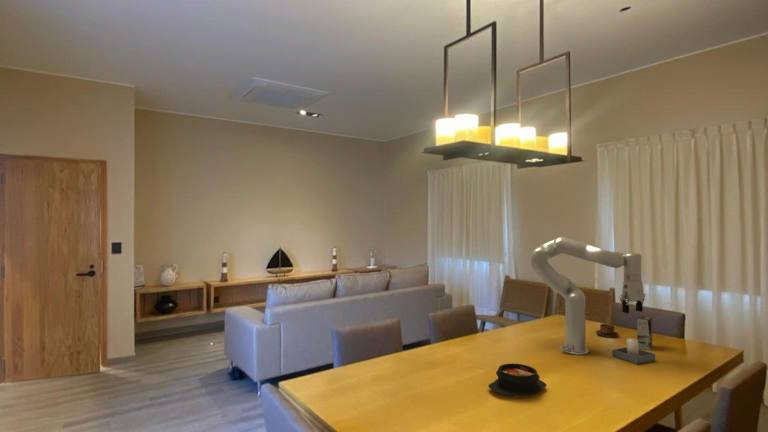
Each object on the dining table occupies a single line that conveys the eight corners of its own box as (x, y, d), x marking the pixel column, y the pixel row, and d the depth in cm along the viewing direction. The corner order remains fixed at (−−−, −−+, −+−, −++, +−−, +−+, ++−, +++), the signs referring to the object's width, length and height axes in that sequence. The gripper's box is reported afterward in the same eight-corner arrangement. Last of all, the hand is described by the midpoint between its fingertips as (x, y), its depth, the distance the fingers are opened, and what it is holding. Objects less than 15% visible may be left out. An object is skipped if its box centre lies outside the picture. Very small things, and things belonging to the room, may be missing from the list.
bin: (636, 364, 200) (636, 357, 200) (612, 356, 212) (612, 349, 212) (655, 361, 205) (655, 353, 205) (630, 353, 217) (629, 346, 217)
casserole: (523, 377, 185) (523, 358, 185) (557, 392, 168) (557, 371, 168) (478, 387, 173) (478, 367, 173) (510, 405, 157) (510, 382, 157)
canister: (634, 359, 205) (634, 341, 205) (624, 356, 209) (624, 338, 210) (641, 358, 207) (640, 339, 208) (631, 355, 212) (630, 337, 212)
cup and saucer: (621, 339, 243) (621, 328, 243) (599, 338, 245) (599, 327, 245) (614, 333, 255) (614, 323, 255) (593, 332, 257) (593, 322, 257)
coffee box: (651, 350, 221) (650, 320, 221) (636, 348, 225) (636, 318, 225) (652, 346, 228) (652, 317, 228) (638, 344, 232) (638, 315, 232)
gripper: (627, 279, 202) (627, 315, 202) (651, 277, 209) (651, 312, 209) (613, 277, 209) (613, 311, 209) (637, 275, 216) (637, 309, 216)
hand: (632, 311), depth 209 cm, fingers open, 9 cm apart
